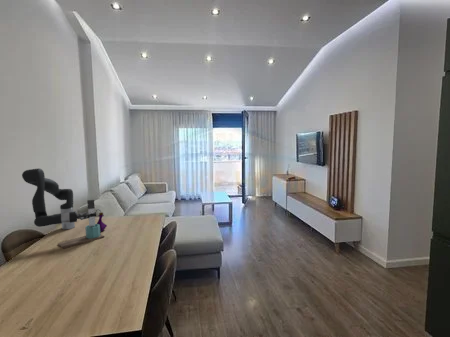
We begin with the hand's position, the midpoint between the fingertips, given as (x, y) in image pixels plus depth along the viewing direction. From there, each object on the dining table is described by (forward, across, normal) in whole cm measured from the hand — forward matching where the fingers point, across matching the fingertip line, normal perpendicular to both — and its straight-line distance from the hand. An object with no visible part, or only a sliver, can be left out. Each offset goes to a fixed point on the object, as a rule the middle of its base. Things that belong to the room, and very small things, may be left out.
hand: (95, 214), depth 192 cm
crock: (-3, 0, +17) cm, 17 cm away
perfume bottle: (+3, +15, +18) cm, 23 cm away
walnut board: (-10, -3, +18) cm, 21 cm away
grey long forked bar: (-3, 0, +13) cm, 14 cm away
